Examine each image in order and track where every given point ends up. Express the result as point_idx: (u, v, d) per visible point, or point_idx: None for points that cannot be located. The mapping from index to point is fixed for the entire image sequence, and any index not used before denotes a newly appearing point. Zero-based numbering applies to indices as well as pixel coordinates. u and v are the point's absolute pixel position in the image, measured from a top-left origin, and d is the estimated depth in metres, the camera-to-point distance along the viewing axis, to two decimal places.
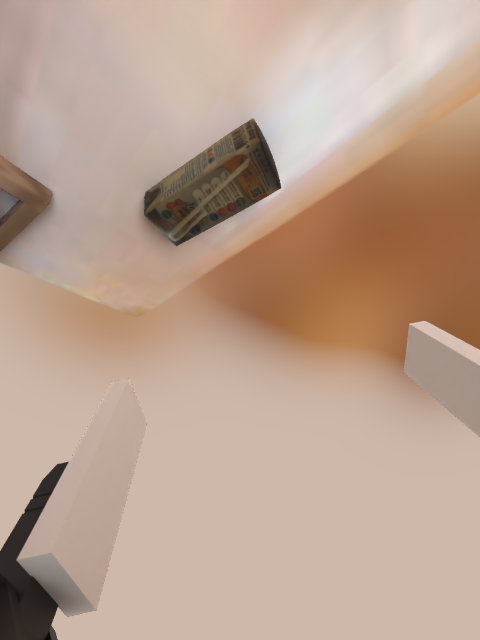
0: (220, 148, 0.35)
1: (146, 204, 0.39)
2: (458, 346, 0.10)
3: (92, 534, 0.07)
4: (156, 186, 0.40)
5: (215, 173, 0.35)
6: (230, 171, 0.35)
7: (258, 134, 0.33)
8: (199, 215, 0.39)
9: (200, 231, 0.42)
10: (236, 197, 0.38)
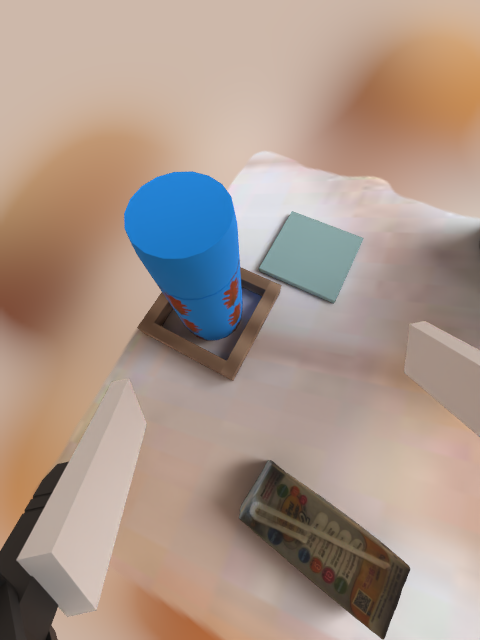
0: None
1: (274, 464, 0.37)
2: (458, 346, 0.10)
3: (92, 534, 0.07)
4: None
5: (352, 531, 0.32)
6: (365, 549, 0.31)
7: (405, 563, 0.32)
8: (299, 533, 0.32)
9: (275, 545, 0.32)
10: (343, 575, 0.30)
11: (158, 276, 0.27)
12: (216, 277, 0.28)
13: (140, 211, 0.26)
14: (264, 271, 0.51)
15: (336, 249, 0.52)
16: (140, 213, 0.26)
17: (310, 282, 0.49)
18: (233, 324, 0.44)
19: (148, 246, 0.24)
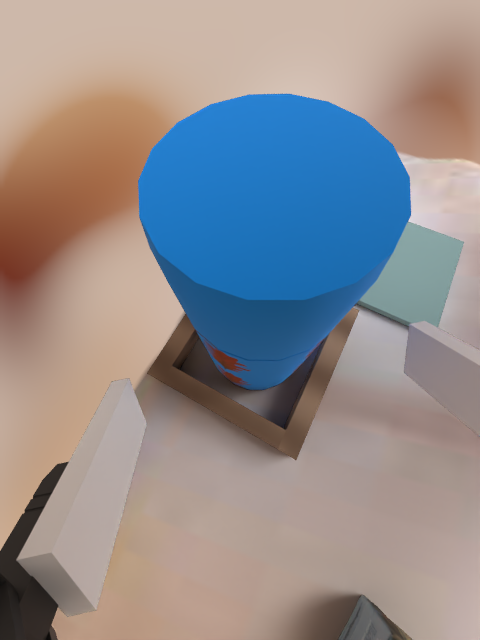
0: None
1: (388, 623, 0.22)
2: (458, 346, 0.10)
3: (92, 534, 0.07)
4: None
5: None
6: None
7: None
8: None
9: None
10: None
11: (211, 326, 0.12)
12: (331, 326, 0.13)
13: (177, 177, 0.11)
14: None
15: (428, 257, 0.36)
16: (178, 182, 0.11)
17: (396, 305, 0.34)
18: (294, 371, 0.29)
19: (203, 264, 0.09)
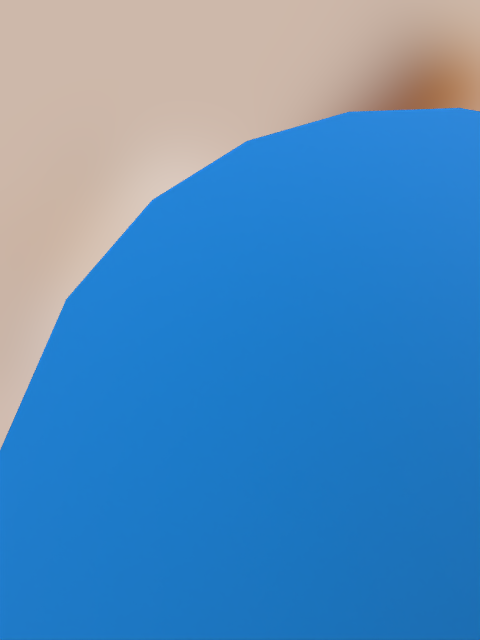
0: None
1: None
2: None
3: None
4: None
5: None
6: None
7: None
8: None
9: None
10: None
11: None
12: None
13: (147, 440, 0.03)
14: None
15: None
16: (154, 473, 0.03)
17: None
18: None
19: None
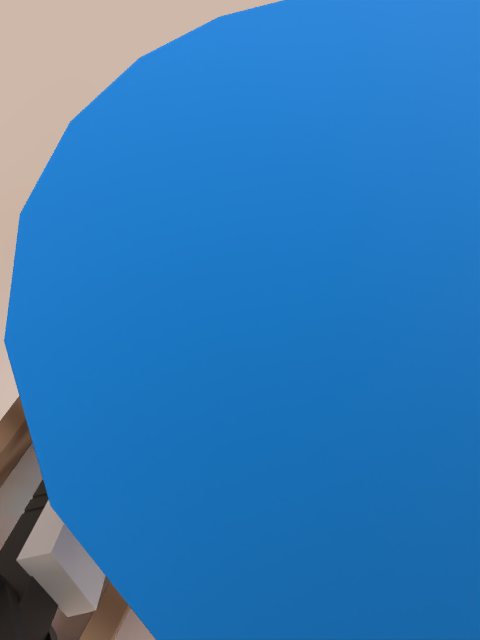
0: None
1: None
2: None
3: None
4: None
5: None
6: None
7: None
8: None
9: None
10: None
11: None
12: None
13: (132, 200, 0.04)
14: None
15: None
16: (136, 217, 0.04)
17: None
18: None
19: (225, 572, 0.02)
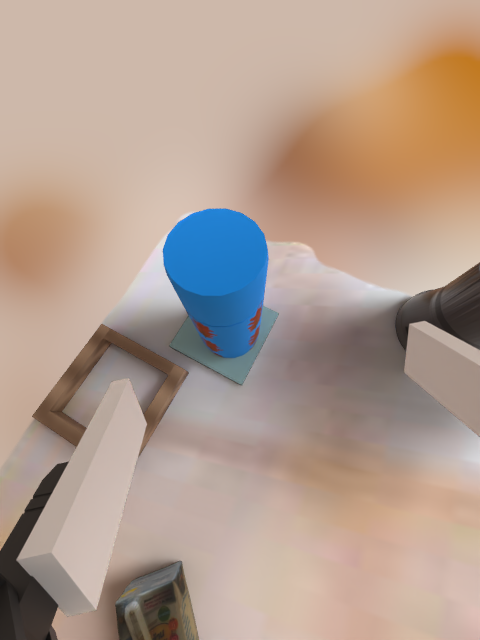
0: None
1: (178, 578, 0.35)
2: (458, 346, 0.10)
3: (92, 534, 0.07)
4: (185, 581, 0.38)
5: None
6: None
7: None
8: None
9: None
10: None
11: (192, 307, 0.29)
12: (246, 308, 0.30)
13: (178, 248, 0.27)
14: (175, 349, 0.50)
15: None
16: (178, 250, 0.27)
17: (219, 362, 0.48)
18: (252, 344, 0.45)
19: (187, 283, 0.26)
